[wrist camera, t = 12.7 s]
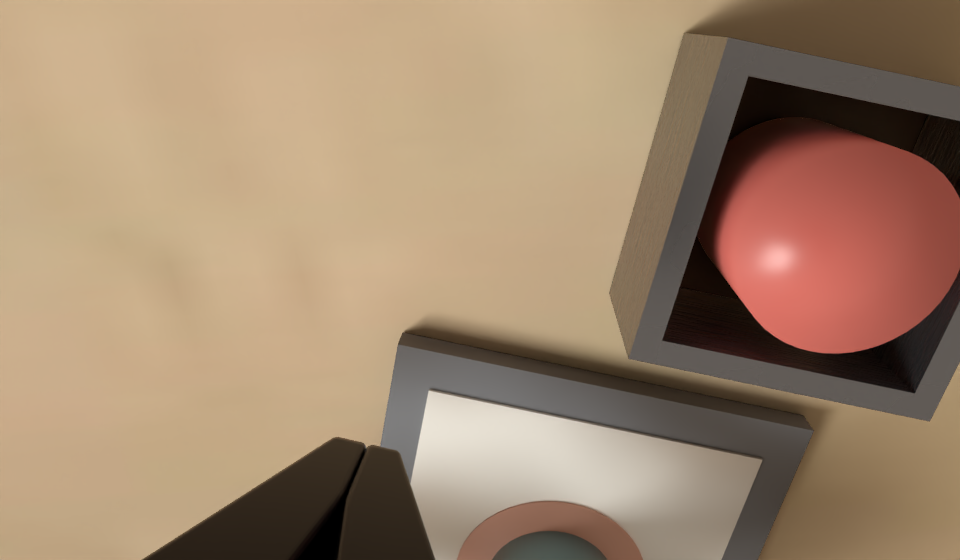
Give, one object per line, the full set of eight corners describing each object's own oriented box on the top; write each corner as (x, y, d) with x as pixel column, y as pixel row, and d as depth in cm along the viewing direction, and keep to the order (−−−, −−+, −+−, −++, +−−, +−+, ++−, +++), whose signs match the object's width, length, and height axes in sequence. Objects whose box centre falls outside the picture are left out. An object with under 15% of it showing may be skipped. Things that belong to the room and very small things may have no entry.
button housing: (852, 344, 20) (929, 421, 16) (609, 293, 19) (628, 358, 16) (963, 92, 17) (1085, 113, 13) (683, 32, 17) (728, 37, 13)
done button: (833, 300, 19) (911, 371, 15) (672, 266, 18) (708, 330, 15) (901, 137, 17) (1006, 171, 13) (725, 100, 17) (780, 123, 13)
